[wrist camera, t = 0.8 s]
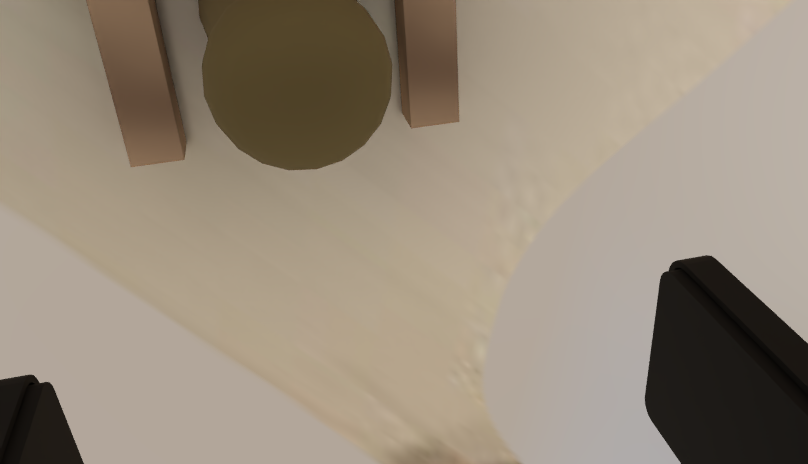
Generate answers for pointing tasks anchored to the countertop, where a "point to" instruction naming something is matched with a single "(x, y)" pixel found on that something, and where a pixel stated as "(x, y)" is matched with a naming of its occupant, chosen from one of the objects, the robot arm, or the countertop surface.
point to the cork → (295, 78)
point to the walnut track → (156, 99)
